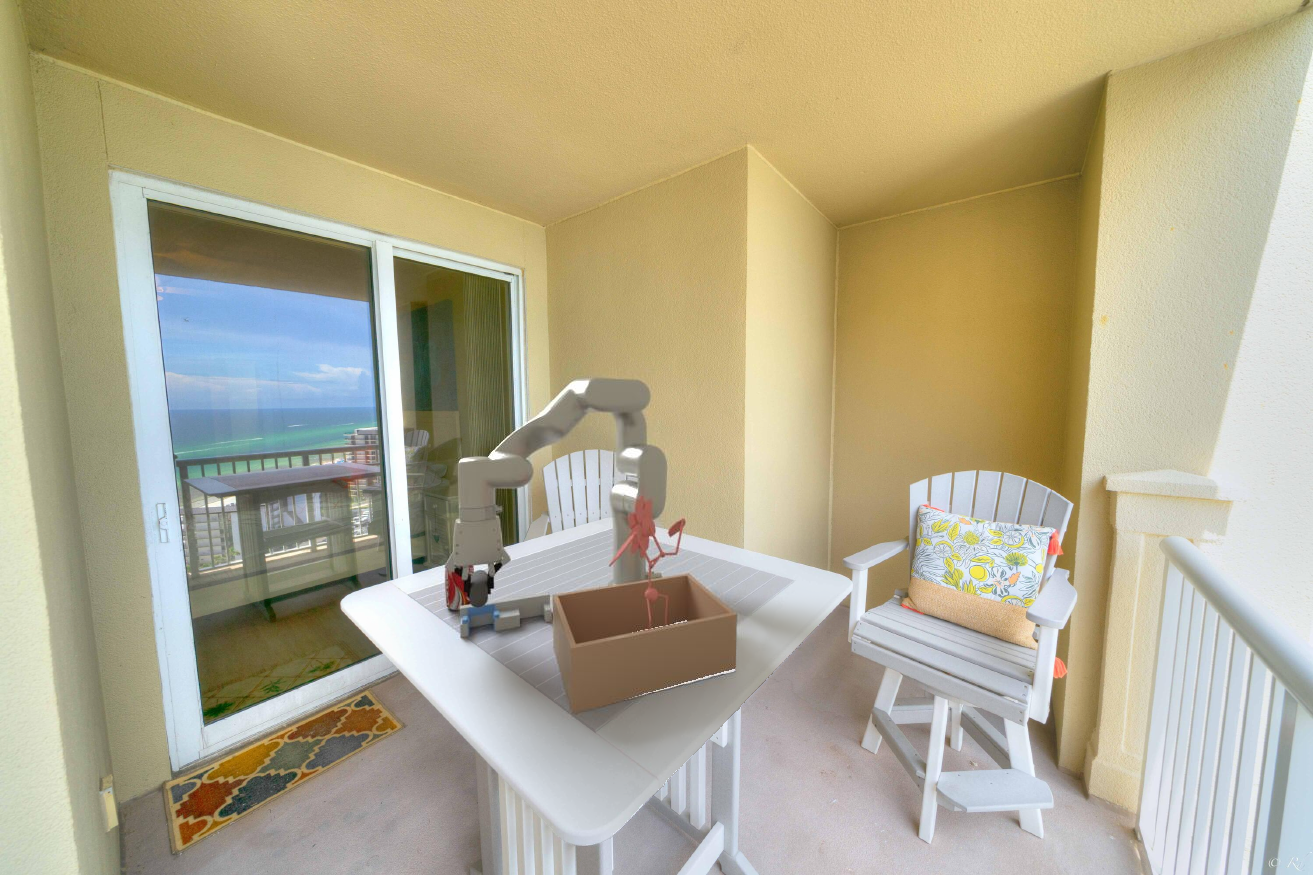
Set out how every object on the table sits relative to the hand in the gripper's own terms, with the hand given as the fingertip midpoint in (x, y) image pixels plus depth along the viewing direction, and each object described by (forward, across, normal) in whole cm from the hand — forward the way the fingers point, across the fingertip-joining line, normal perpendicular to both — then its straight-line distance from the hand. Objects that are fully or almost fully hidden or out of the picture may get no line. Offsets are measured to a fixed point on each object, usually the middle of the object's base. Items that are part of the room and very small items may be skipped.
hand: (479, 592), depth 97 cm
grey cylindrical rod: (+1, 0, 0) cm, 1 cm away
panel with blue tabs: (+11, -6, -6) cm, 14 cm away
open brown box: (+11, -32, +19) cm, 39 cm away
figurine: (+11, -32, +19) cm, 39 cm away
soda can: (+12, +5, -20) cm, 24 cm away
